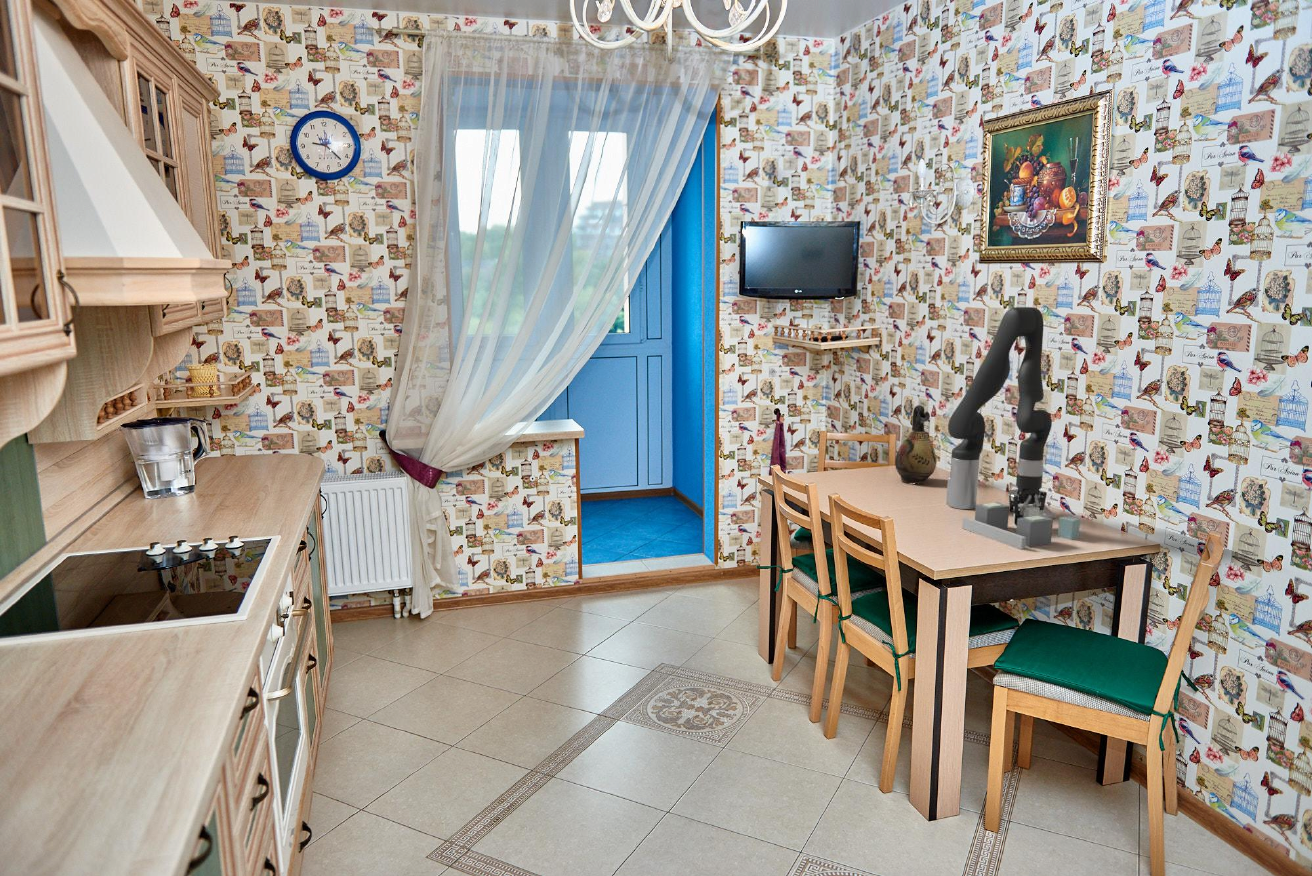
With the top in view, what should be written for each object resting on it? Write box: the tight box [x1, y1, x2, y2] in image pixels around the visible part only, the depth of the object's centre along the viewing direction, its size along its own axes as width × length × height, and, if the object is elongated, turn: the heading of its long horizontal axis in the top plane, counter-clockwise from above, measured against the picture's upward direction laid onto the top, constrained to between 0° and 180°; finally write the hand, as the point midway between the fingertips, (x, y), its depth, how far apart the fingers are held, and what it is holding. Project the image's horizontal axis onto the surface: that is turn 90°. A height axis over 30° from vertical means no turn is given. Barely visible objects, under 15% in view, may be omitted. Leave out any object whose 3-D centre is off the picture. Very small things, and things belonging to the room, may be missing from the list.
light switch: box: [1007, 488, 1057, 520], centre depth 296 cm, size 8×6×14 cm
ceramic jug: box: [894, 404, 937, 485], centre depth 343 cm, size 17×15×30 cm
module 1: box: [1012, 504, 1040, 528], centre depth 280 cm, size 6×4×7 cm
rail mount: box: [961, 502, 1054, 550], centre depth 271 cm, size 24×13×8 cm, turn 24°
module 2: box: [1057, 515, 1081, 541], centre depth 270 cm, size 4×4×6 cm
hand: (1025, 524), depth 281 cm, fingers open, 5 cm apart
